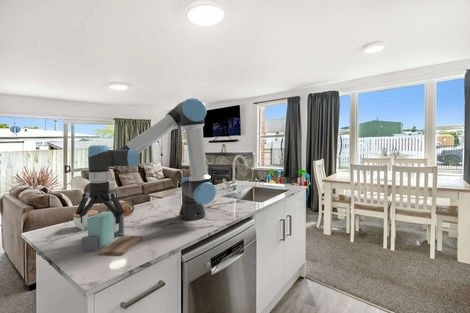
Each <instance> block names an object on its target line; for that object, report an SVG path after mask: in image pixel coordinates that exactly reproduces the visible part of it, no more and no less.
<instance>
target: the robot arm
mask: <svg viewBox="0 0 470 313" xmlns="http://www.w3.org/2000/svg"><path fill="white" fill-rule="evenodd" d="M207 111H208V110H207V107H206V104H205V103H204V102H203V101H202V99H201V100H200V99H199V98H196V97H191V98H187V99H185V100H183V101H182V102H179V103H178V104H176V106H175V107H173V108H172V109H171V110H170V111H168V112H167V113H166V114H164V117H163V118H161V119H160V120H159V121H157V122H156V123H155V124H153V125H151V126H150V127H148V128H147V129H146V130H144V131H142V132H141V133H139V134H138V135H136V136H135V137H134V138H133V139H131V140H129V141H128V142H127V143H125V144H124V145H122V146H121V147H119V148H117V149H110V147H109V145H106V144H105V145H100V144H99V145H98V144H97V145H89V146H88V148H87V162H88V164H87V166H88V182H89V183H88V191H89V192H88V191H87V192H84V193H82V195H81V200H80V202H79V205H78V207H77V208H76V211H75V213H76V215H80V216H81V223H82V228H83V230H82V232H83V233H85V232H88V227H87V218H88V215H86V214H87V212H88V211H89V210H92V208H93V206H94V205H96V204H97V205H98V204H99V205H104V206H106V208H107V209H108V208H109V210H110V211H111V212H112V213H113V214H114V217H113V232H117V231H118V230H119V223H120V215H122V214H124V213H125V212H124V210H123V208H122V206H121V204H120V203H121V202H120V200H119V199H118V194H117V192H113V193H110V190H111V189H110V182H109V180H110V168H115V167H116V168H118V167H119V168H121V167H122V168H123V167H130V168H131V167H136V166H138V165H139V161H140V156H139V154H141V153H142V152H144V151H145V150H146V149H147V148H149V147H151V146H152V145H154V143H156V142H158V141H159V140H160V139H161V138H163V137H165V136H166V135H167V134H168V133H171V131H173V130H177V129H179V128H182V129H184V130H185V140H186V147H187V155H188V161H189V167H190V176H188V177H182V178H181V182H180V185H181V186H180V190H181V206H180V210H179V212H178V217H179V219H180V220H183V221H195V220H196V221H197V220H202V219H204V218H205V217H206V215H207V214H206V213H207V212H206V210H205V205H208V204H210V203H211V202H212V201H214V199H215V198H216V194H217V190H216V186H215V185H214V184H213V183H212V176H211V175H210V174H208V167H207V166H208V165H207V159H206V151H205V148H206V147H205V143H204V142H205V140H204V133H203V127H204V126H205V118H206V116H207V114H208V112H207ZM89 198H90V200H89ZM88 200H89V201H88ZM87 202H88V203H87ZM113 204H114V205H113Z"/></svg>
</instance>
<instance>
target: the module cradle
mask: <svg viewBox="0 0 470 313" xmlns="http://www.w3.org/2000/svg"><path fill="white" fill-rule="evenodd" d="M101 212H111V211H107V210H102V211H101ZM113 217H114V214H113ZM125 233H126V232H125V217H124V214H122V215H120V223H119V230H118V231H117V232H114V238H117V237H119V236H123V235H126V234H125ZM100 249H101V247H100V243H99V236H88V235H87V236H83V237H81V251H82V250H85V251H84V252H86V250H88V251H89V250H91V251H93V252H94V251H95V252H97V251H99V250H100ZM88 251H87V252H88ZM91 251H90V252H91Z"/></svg>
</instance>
